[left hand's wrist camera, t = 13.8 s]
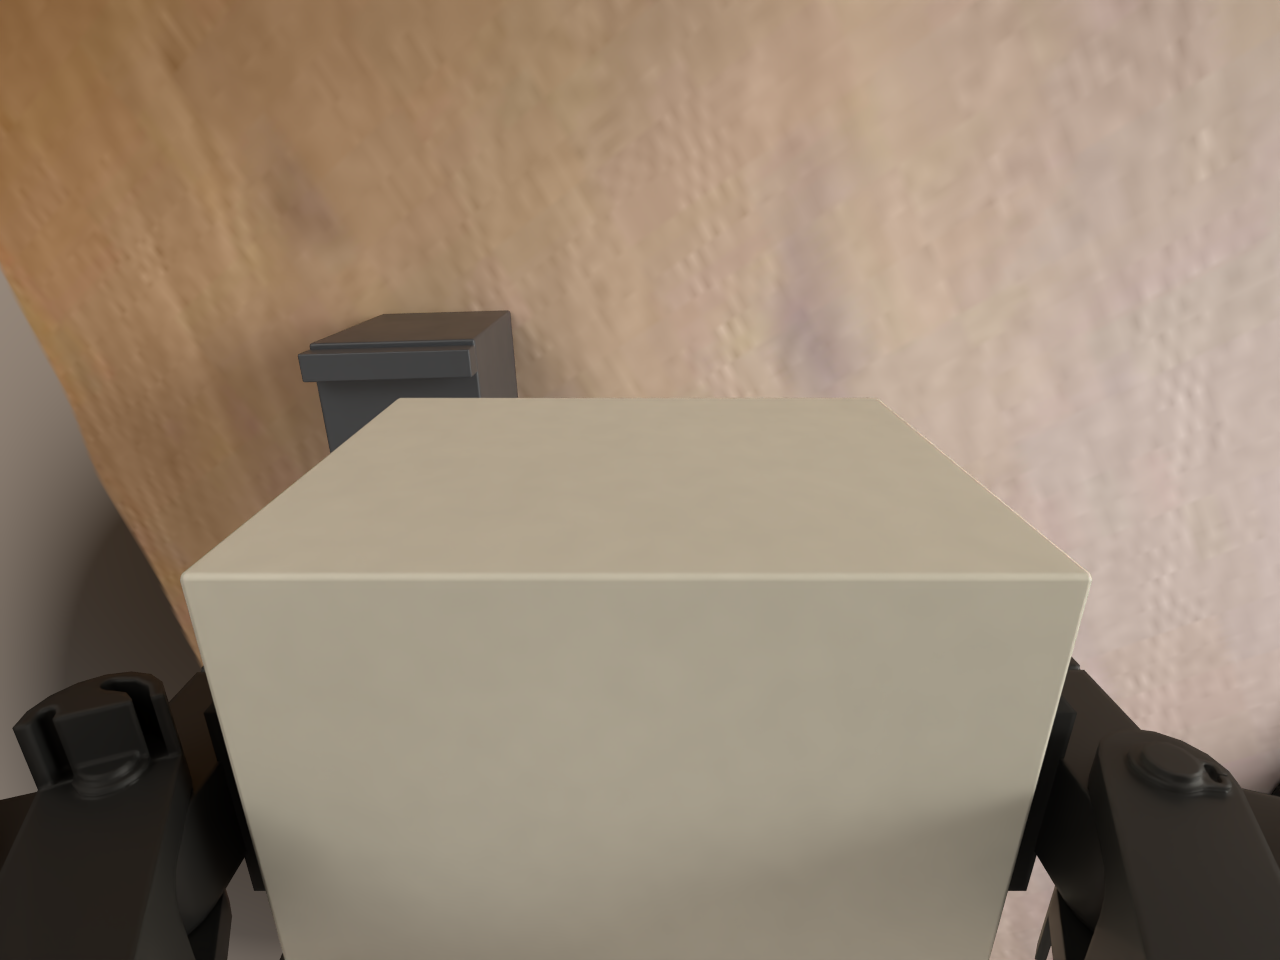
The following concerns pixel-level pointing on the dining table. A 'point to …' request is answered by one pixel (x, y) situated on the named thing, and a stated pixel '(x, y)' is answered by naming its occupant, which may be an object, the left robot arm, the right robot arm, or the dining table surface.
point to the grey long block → (408, 364)
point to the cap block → (636, 684)
